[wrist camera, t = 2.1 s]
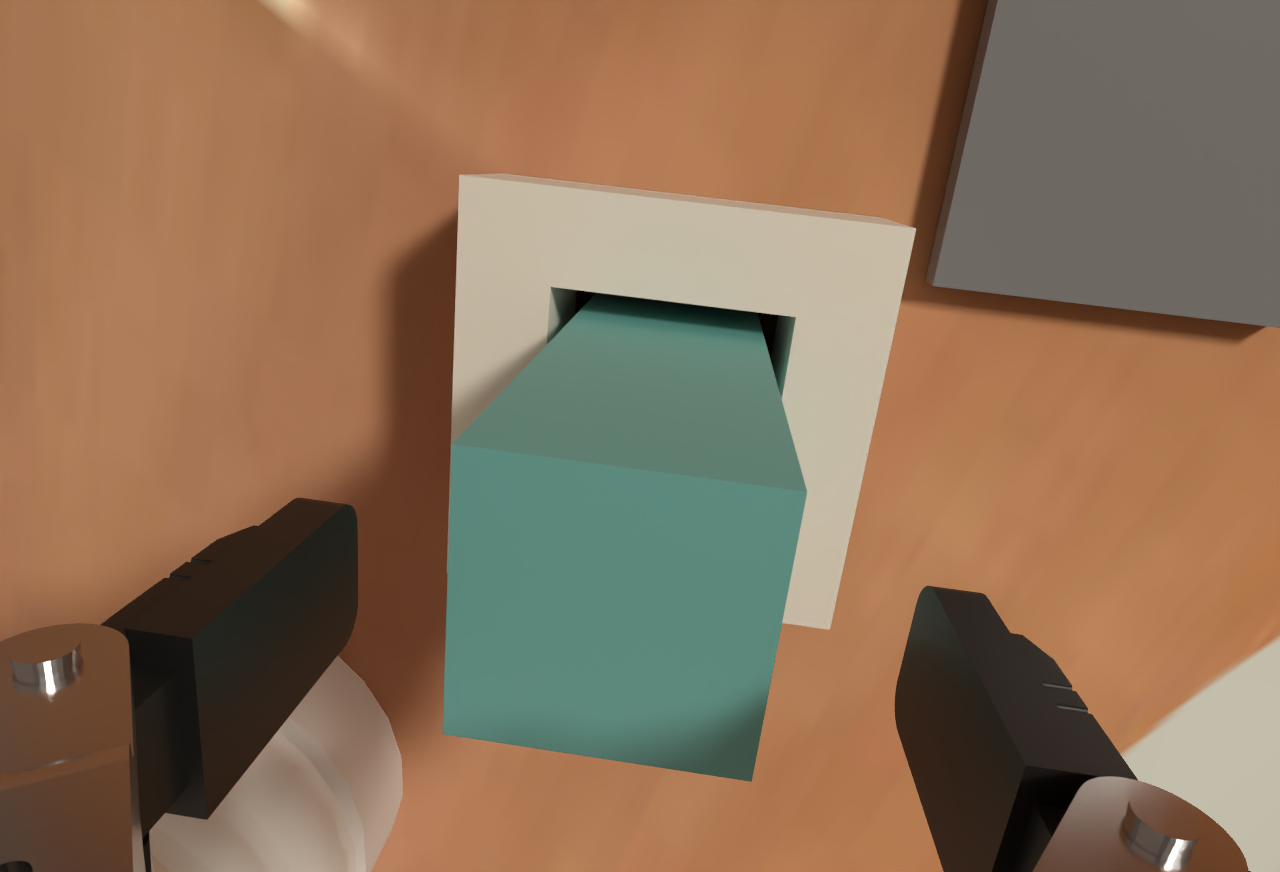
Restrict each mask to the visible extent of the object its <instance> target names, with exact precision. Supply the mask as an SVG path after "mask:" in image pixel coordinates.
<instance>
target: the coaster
mask: <svg viewBox="0 0 1280 872" xmlns="http://www.w3.org/2000/svg"><path fill="white" fill-rule="evenodd" d="M925 282H926V283H928V284H930V285H932V286H937V287H945V288H953V289H962V290H970V291H978V292H987V293H995V294H1003V295H1011V296H1020V297H1028V298H1036V299H1045V300H1053V301H1061V302H1069V303H1078V304H1086V305H1094V306H1103V307H1111V308H1119V309H1128V310H1136V311H1144V312H1152V313H1161V314H1169V315H1177V316H1186V317H1194V318H1202V319H1210V320H1219V321H1227V322H1235V323H1244V324H1252V325H1260V326H1268V327H1277V328H1280V0H988V3H987V8H986V12H985V17H984V21H983V26H982V30H981V35H980V39H979V44H978V48H977V53H976V57H975V61H974V66H973V70H972V75H971V79H970V84H969V88H968V93H967V97H966V102H965V106H964V111H963V115H962V119H961V124H960V128H959V133H958V137H957V142H956V146H955V151H954V155H953V160H952V164H951V168H950V173H949V177H948V182H947V186H946V191H945V195H944V200H943V204H942V209H941V213H940V218H939V222H938V226H937V231H936V235H935V240H934V244H933V249H932V253H931V258H930V262H929V267H928V271H927V275H926V280H925Z"/></svg>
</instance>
